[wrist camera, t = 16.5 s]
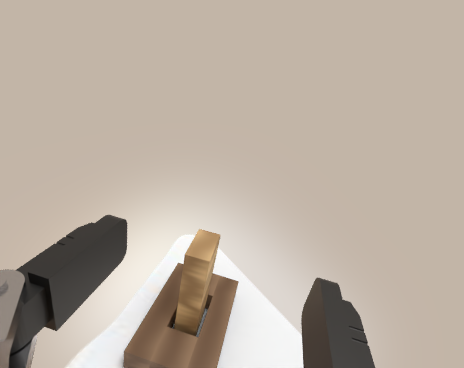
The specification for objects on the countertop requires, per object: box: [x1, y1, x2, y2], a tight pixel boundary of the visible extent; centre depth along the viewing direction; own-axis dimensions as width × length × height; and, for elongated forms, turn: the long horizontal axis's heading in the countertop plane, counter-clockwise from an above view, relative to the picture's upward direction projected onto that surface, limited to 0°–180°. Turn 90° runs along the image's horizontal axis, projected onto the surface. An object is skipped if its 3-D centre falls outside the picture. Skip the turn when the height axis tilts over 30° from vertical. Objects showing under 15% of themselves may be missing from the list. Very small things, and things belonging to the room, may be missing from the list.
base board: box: [124, 263, 238, 368], centre depth 37 cm, size 11×16×3 cm
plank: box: [174, 229, 220, 336], centre depth 34 cm, size 3×6×15 cm, turn 169°
